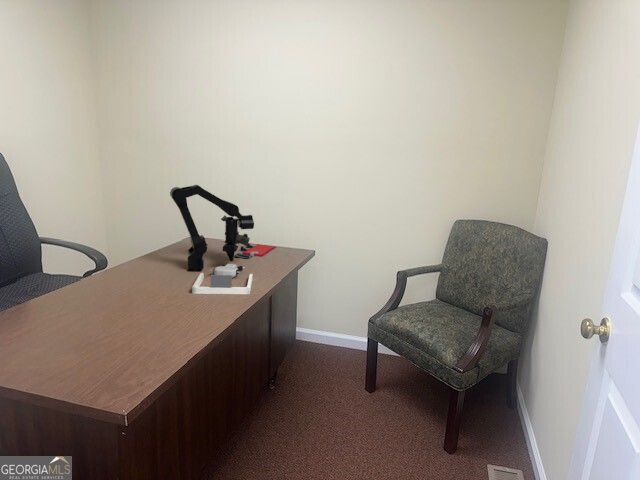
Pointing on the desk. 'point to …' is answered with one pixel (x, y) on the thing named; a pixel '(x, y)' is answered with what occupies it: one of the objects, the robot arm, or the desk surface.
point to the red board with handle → (255, 251)
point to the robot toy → (228, 270)
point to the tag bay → (220, 285)
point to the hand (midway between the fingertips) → (231, 261)
